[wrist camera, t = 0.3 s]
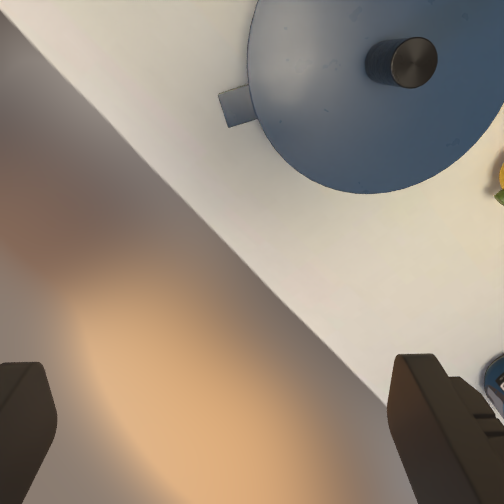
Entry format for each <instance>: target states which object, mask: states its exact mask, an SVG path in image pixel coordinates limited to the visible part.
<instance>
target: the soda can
mask: <svg viewBox="0 0 504 504" xmlns="http://www.w3.org/2000/svg"><path fill="white" fill-rule="evenodd" d="M484 386H485V392H486V395H487V396H488V398H489V399H490V401H491V402H492V403H493V405H494V406H495V408H496V409H497V410H498V412H499V413H500V415H501V416H502V417H503V419H504V356H502V357H500V358H498V359H497V360H495V361H494V362H493V363H492V364H491V365H490V366H489V367H488V369H487V371H486V374H485V383H484Z"/></svg>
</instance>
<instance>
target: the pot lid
mask: <svg viewBox="0 0 504 504" xmlns="http://www.w3.org/2000/svg"><path fill="white" fill-rule="evenodd" d="M247 73H248V84H249V89H250V94H251V99H252V103H253V106H254V109H255V112H256V115H257V118H258V120H259V123H260V125H261V127H262V128H263V130H264V132H265V134H266V136H267V138H268V139H269V141H270V142H271V144H272V145H273V147H274V148H275V149H276V151H277V152H278V153H279V154H280V155H281V156H282V157H283V158H284V160H285V161H286V162H287V163H289V164H290V165H291V166H292V167H293V168H294V169H296V170H297V171H298V172H299V173H301V174H303V175H304V176H306V177H307V178H309V179H310V180H312V181H314V182H317V183H319V184H321V185H323V186H325V187H328V188H332V189H335V190H338V191H343V192H349V193H355V194H377V193H387V192H391V191H396V190H400V189H404V188H407V187H410V186H413V185H416V184H418V183H421V182H423V181H425V180H427V179H429V178H431V177H433V176H435V175H436V174H438V173H440V172H441V171H443V170H444V169H446V168H448V167H449V166H450V165H452V164H453V163H454V162H455V161H457V160H458V159H459V158H460V157H462V156H463V155H464V154H465V153H466V152H467V151H468V150H469V149H470V148H471V147H472V146H473V145H474V144H475V143H476V142H477V141H478V140H479V138H480V137H481V136H482V135H483V134H484V132H485V131H486V130H487V129H488V127H489V126H490V124H491V123H492V121H493V120H494V118H495V117H496V115H497V114H498V112H499V110H500V108H501V107H502V105H503V103H504V0H258V2H257V5H256V8H255V12H254V15H253V19H252V23H251V26H250V33H249V40H248V47H247Z"/></svg>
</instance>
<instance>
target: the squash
mask: <svg viewBox="0 0 504 504" xmlns="http://www.w3.org/2000/svg"><path fill="white" fill-rule="evenodd" d="M499 181H500V184H501V187H502V190H500V191H499V192H498V193H497V194H496V195H494V197H495V199H496V200H497V201H498V202H499V203H500V204H502V205H503V206H504V163H503V165H502V167H501V170H500V174H499Z"/></svg>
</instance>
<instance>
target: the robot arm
mask: <svg viewBox="0 0 504 504" xmlns="http://www.w3.org/2000/svg"><path fill="white" fill-rule="evenodd" d="M387 417H388V424H389V429H390V432H391V435H392V437H393V440H394V443H395V445H396V448H397V450H398V453H399V456H400V458H401V461H402V463H403V466H404V468H405V471H406V473H407V476H408V479H409V481H410V484H411V486H412V489H413V492H414V494H415V497H416V499H417V502H418V504H504V426H503V424H502V423H501V422H500V420H499V419H498V418H496V417H495V413H494V412H493V410H492V409H491V407H490V406H489V404H488V403H487V402H486V400H485V399H484V397H483V396H482V394H481V393H480V392H478V391H477V390H476V389H475V388H473V387H472V386H471V385H469V384H468V383H467V382H466V381H464V380H463V379H462V378H461V377H448V375H447V374H446V372H445V370H444V369H443V367H442V366H441V364H440V363H439V361H438V359H437V358H436V357H435V356H434V355H433V354H398V355H397V356H396V358H395V361H394V366H393V372H392V378H391V385H390V391H389V397H388V403H387ZM56 428H57V411H56V408H55V404H54V401H53V397H52V394H51V390H50V387H49V383H48V380H47V377H46V373H45V370H44V367H43V365H42V364H41V363H39V362H11V363H2V364H0V504H22V502H23V500H24V498H25V496H26V494H27V492H28V490H29V488H30V486H31V484H32V482H33V480H34V478H35V476H36V474H37V472H38V470H39V468H40V466H41V464H42V462H43V460H44V458H45V456H46V454H47V452H48V450H49V447H50V446H51V444H52V441H53V439H54V436H55V433H56Z"/></svg>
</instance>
